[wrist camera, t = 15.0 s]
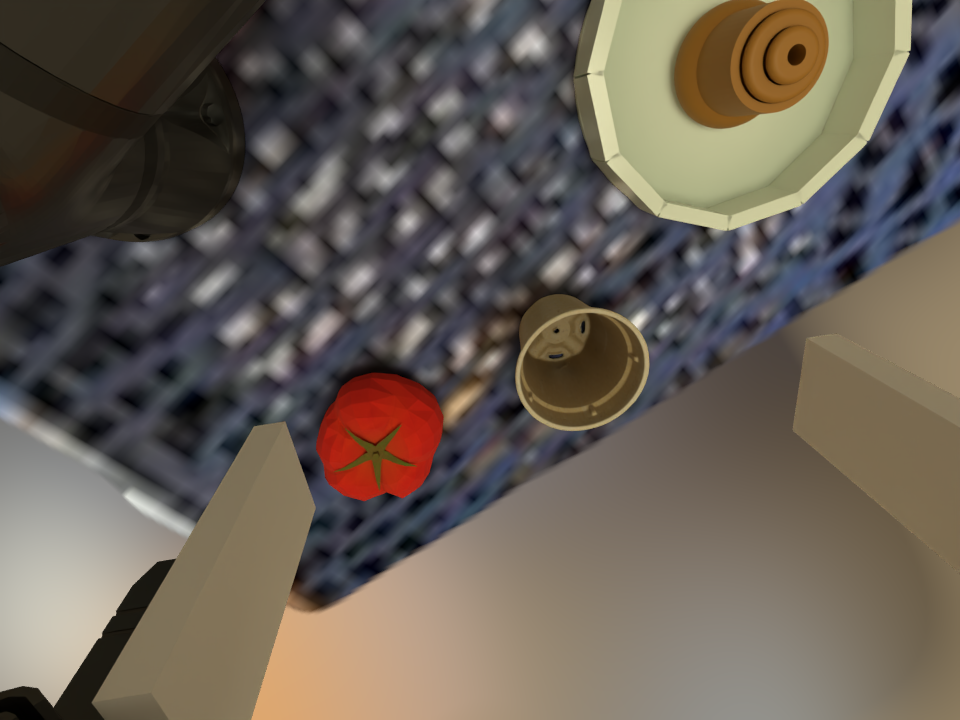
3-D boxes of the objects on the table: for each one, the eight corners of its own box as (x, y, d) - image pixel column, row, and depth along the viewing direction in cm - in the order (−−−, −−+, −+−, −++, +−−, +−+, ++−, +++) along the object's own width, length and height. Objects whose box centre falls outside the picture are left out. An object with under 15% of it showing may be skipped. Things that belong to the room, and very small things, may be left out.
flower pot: (586, 252, 41) (622, 283, 33) (626, 347, 45) (667, 395, 37) (481, 307, 42) (492, 349, 34) (529, 394, 46) (549, 451, 38)
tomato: (453, 377, 45) (456, 416, 39) (420, 476, 49) (418, 526, 43) (340, 349, 43) (325, 386, 37) (316, 455, 47) (299, 503, 41)
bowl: (514, 83, 35) (525, 78, 31) (746, -209, 30) (795, -260, 26) (692, 267, 42) (720, 282, 38) (908, 55, 37) (967, 47, 33)
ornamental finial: (746, -26, 33) (793, 78, 36) (648, 58, 34) (700, 151, 37) (834, -67, 26) (884, 67, 28) (704, 41, 27) (764, 158, 30)
